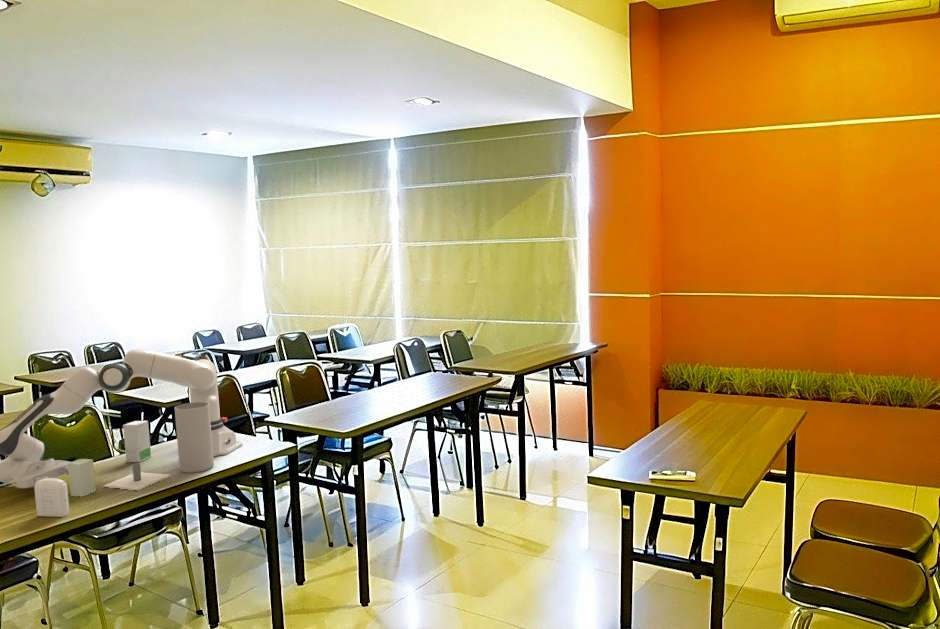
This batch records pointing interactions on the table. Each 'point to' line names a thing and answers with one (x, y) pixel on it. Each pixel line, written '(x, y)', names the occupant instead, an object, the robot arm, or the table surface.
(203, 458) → the cylinder vase
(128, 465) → the table surface
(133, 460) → the skincare box
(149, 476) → the dock
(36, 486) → the photo printer
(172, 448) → the table surface
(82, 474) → the light grey tall block
